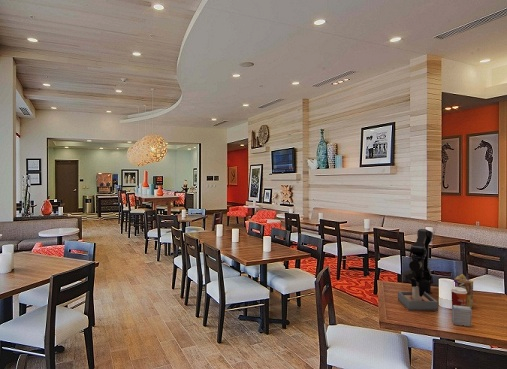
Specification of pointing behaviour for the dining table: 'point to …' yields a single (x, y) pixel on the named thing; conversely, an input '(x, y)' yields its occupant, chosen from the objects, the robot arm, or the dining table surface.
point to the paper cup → (458, 296)
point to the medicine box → (461, 315)
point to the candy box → (469, 288)
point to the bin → (418, 302)
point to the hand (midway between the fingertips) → (417, 293)
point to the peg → (416, 294)
